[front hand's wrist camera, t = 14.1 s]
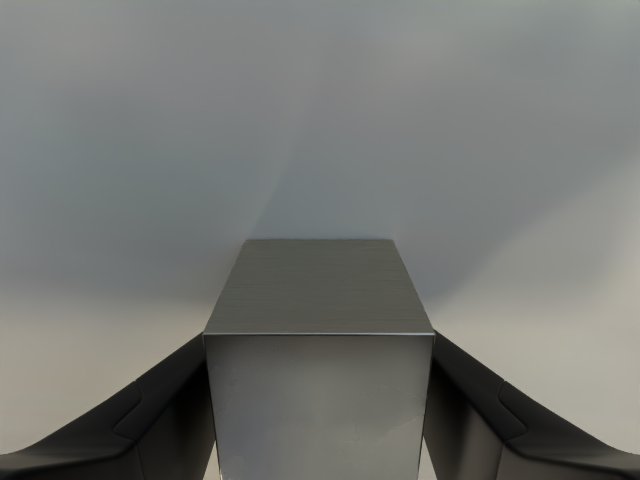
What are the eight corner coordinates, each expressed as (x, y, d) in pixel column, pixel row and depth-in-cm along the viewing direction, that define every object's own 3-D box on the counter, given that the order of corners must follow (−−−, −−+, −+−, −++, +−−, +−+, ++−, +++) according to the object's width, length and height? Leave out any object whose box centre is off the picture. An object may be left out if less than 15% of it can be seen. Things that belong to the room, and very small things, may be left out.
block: (383, 369, 14) (414, 509, 9) (254, 369, 14) (223, 509, 9) (393, 239, 12) (437, 333, 7) (245, 238, 12) (201, 333, 7)
